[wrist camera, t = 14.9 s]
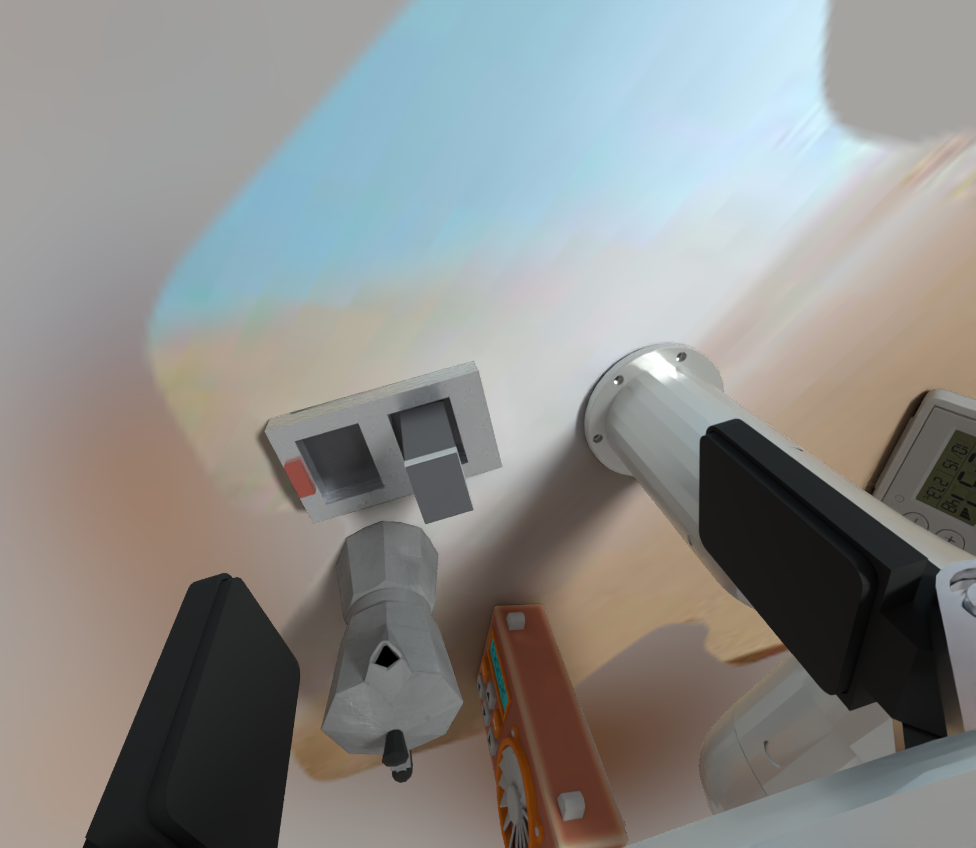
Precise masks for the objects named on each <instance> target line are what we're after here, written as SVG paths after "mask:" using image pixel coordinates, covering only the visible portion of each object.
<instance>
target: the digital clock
mask: <svg viewBox="0 0 976 848" xmlns="http://www.w3.org/2000/svg"><path fill="white" fill-rule="evenodd" d="M874 487H875V490H874V492H873V494H872V496H873V497H875V498H877V499H878V500H880V501H881V502H883V503H884V504H886V505H887V506H889V507H890V508H892V509H893V510H895V511H896V512H898V513H900V514H901V515H903V516H904V517H906V518H907V519H909V520H910V521H912V522H914V523H916V524H917V525H919V526H921V527H923V528H924V529H926V530H928V531H930V532H931V533H933V534H935V535H937V536H938V537H940V538H942V539H944V540H945V541H947V542H949V543H951V544H953V545H954V546H956V547H958V548H960V549H962V550H964V551H966V552H968V553H970V554H972V555H973V556H975V557H976V399H973V398H970V397H967V396H963V395H960V394H957V393H954V392H951V391H948V390H943V389H933V390H931V391H929V392H928V393H927V394H926V396H925V397H924V399H923V401H922V403H921V405H920V406H919V408H918V410H917V412H916V414H915V416H914V417H911V418H910V420H909V422H908V424H907V426H906V427H905V429H904V431H903V433H902V435H901V437H900V439H899V441H898V442H897V444H896V446H895V448H894V450H893V452H892V454H891V456H890V457H889V459H888V461H887V463H886V465H885V467H884V469H883V471H882V473H881V474H880V476H879V478H878V480H877V482H876V484H875V486H874Z"/></svg>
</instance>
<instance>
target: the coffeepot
mask: <svg viewBox="0 0 976 848" xmlns="http://www.w3.org/2000/svg"><path fill="white" fill-rule="evenodd" d="M437 566H438V552H437V551H436V549H435V548H434V546H433V544H432V542H431V540H430V539H429V538H428V536H427V535H426V534H425V533H424V531H423V530H422V528H419V527H415V526H412V525H409V524H405V523H400V522H384V521H383V522H379V523H376V524H373V525H370V526H368V527H365V528H363V529H361V530H360V531H358V532H356V533H355V534H354V535H352V536H350V537H348V538H346V541H345V544H344V546H343V549H342V551H341V555H340V558H339V561H338V563H337V566H336V572H337V578H338V584H339V591H340V597H341V603H342V610H343V616H344V620H345V622H346V623H347V628H346V631H345V633H344V636H343V639H342V642H341V645H340V650H339V654H338V658H337V663H336V667H335V671H334V676H333V680H332V684H331V689H330V693H329V697H328V701H327V706H326V710H325V714H324V719H323V723H322V727H321V730H322V731H323V732H324V733H325V734H327V735H328V736H329V737H330V738H331V739H332V740H334V741H335V742H336V743H337V744H338V745H340V746H341V747H342V748H343V749H344V750H345V751H347V752H348V753H349V754H383V759H382V763H384V764H385V765H386V766H389V767H391V771H392V776H393V778H394V780H395V781H397V782H400V783H402V782H406V781H407V780H408V779H409V778H410V777H411V774H412V767H413V764H412V756H411V750H412V749H414V748H416V747H418V746H420V745H423V744H425V743H427V742H429V741H432V740H434V739H436V738H438V737H441V736H443V735H445V734H446V732H447V730H448V729H449V727H450V725H451V723H452V722H453V720H454V718H455V716H456V715H457V713H458V711H459V709H460V708H461V706H462V704H463V700H462V697H461V693H460V690H459V687H458V684H457V681H456V678H455V675H454V672H453V669H452V666H451V663H450V659H449V656H448V653H447V650H446V647H445V644H444V641H443V638H442V635H441V632H440V629H439V627H438V625H437V623H436V622H435V620H434V619H433V618H432V612H433V609H434V605H435V593H436V579H437Z"/></svg>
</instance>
